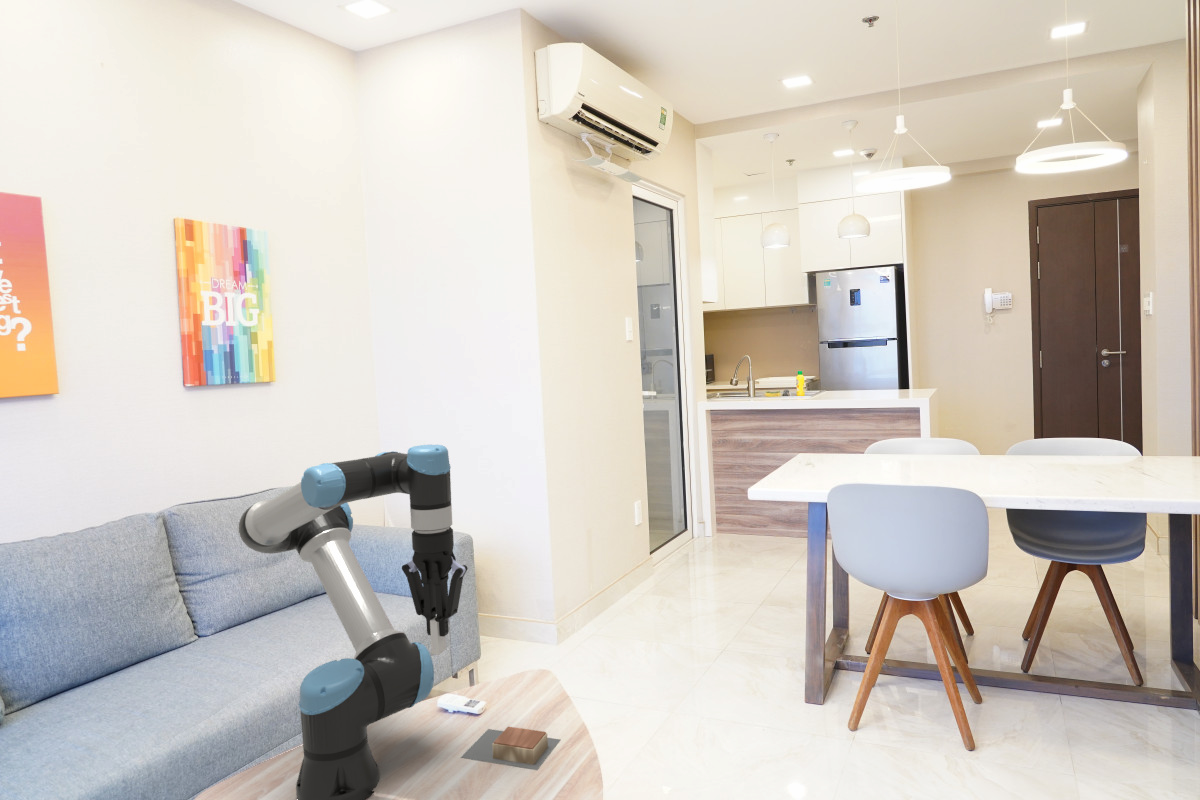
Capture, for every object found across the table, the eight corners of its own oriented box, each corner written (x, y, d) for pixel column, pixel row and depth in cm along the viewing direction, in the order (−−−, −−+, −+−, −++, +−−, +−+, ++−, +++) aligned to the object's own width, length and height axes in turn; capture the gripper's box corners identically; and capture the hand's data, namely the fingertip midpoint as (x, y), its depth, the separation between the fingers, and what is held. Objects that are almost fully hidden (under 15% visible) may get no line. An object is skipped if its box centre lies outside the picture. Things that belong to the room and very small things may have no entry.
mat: (460, 760, 156) (460, 757, 156) (488, 731, 168) (488, 728, 168) (537, 772, 151) (537, 770, 151) (560, 742, 162) (560, 739, 162)
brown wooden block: (492, 742, 155) (533, 748, 152) (507, 725, 162) (547, 731, 159) (492, 758, 156) (533, 764, 153) (508, 741, 162) (547, 746, 159)
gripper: (473, 525, 145) (479, 647, 147) (413, 522, 149) (419, 641, 151) (452, 535, 138) (459, 663, 140) (390, 531, 142) (397, 656, 144)
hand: (438, 651), depth 146 cm, fingers closed
